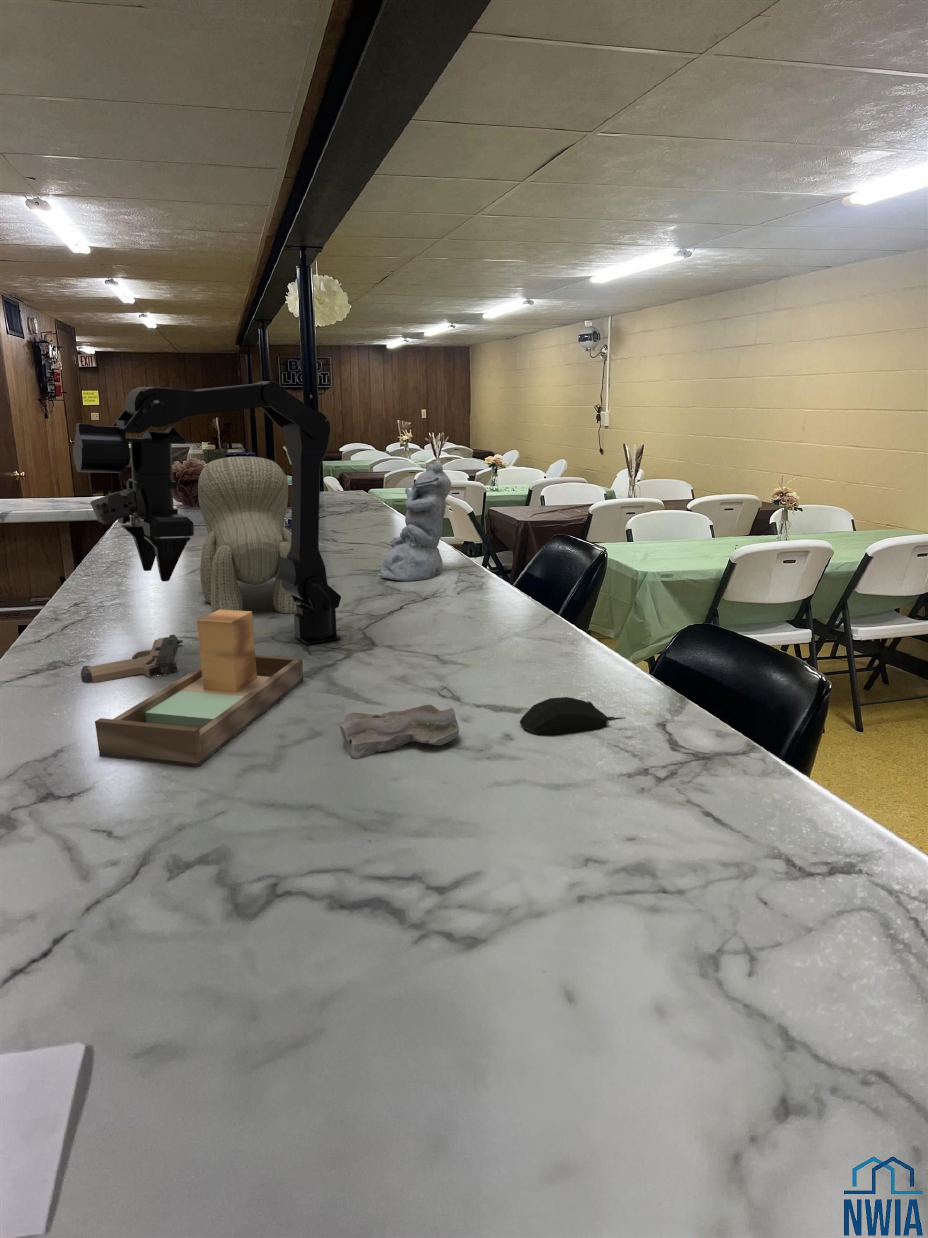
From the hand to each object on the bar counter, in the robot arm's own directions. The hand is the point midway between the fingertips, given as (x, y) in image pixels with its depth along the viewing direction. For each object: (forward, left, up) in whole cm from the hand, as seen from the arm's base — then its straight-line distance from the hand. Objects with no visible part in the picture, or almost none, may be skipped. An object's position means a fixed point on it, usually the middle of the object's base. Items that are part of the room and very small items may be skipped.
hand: (155, 575), depth 119 cm
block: (-5, +20, -13) cm, 24 cm away
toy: (-26, -35, -15) cm, 46 cm away
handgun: (+3, -6, -16) cm, 17 cm away
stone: (-19, +44, -16) cm, 50 cm away
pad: (+1, +25, -15) cm, 30 cm away
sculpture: (-69, -41, -15) cm, 81 cm away
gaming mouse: (-41, +52, -16) cm, 68 cm away
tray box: (-2, +23, -15) cm, 27 cm away
